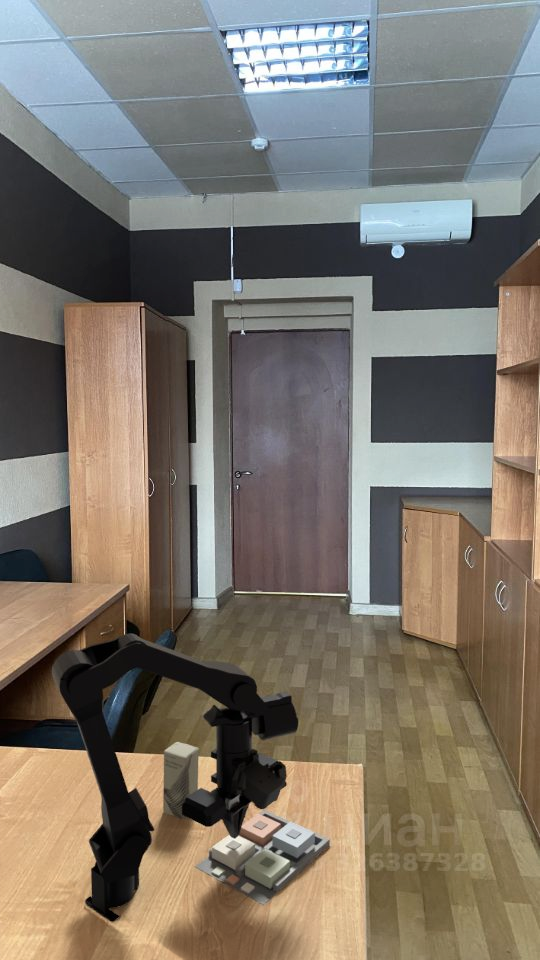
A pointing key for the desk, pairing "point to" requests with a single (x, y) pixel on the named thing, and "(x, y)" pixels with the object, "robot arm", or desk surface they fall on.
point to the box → (179, 776)
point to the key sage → (266, 868)
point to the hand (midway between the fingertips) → (234, 836)
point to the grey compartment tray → (237, 876)
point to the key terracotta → (260, 829)
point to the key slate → (293, 839)
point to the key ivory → (233, 851)
